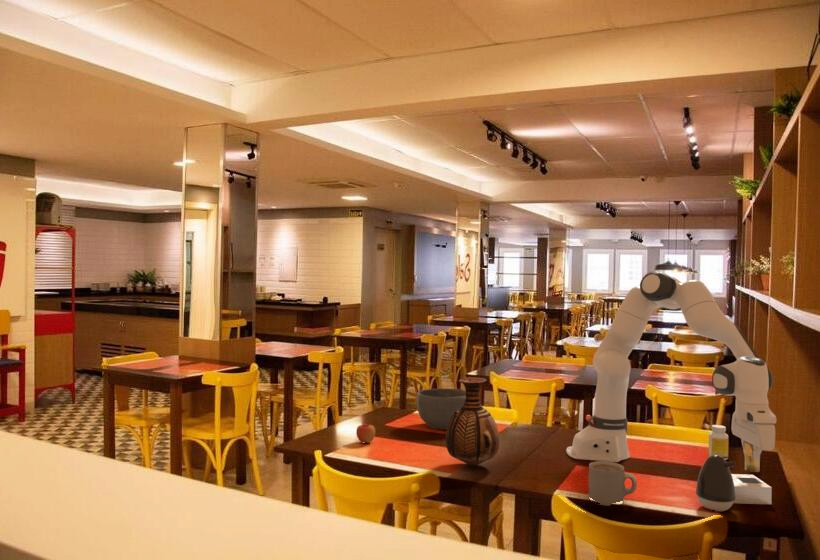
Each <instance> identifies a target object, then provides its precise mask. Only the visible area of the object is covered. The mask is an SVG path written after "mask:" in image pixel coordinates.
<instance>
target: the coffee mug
mask: <svg viewBox="0 0 820 560" xmlns="http://www.w3.org/2000/svg"><path fill="white" fill-rule="evenodd" d="M626 479H630V480H631V487H630V488H627V487H626V485H625V481H626ZM637 487H638V485H637V478H636V477H635V475H633V474H632V473H629V472H625V466H624V465H622V464H619V463H618V462H609V461H591V462H590V463H589V464H588V498H589V497H590V498H592V499H593V500H595V501H597V502H598V503H600V504H599V505H601V506H608V507H611V506H610V505H611V504H612V503H616V502H620V501H623V499H625V496H628V495H631V494H633V493H635V491H636V490H637Z"/></svg>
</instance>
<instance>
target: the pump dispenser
mask: <svg viewBox="0 0 820 560" xmlns="http://www.w3.org/2000/svg"><path fill="white" fill-rule="evenodd" d="M734 466H737V462H736V461H726V460H724V459H723V458H722V457H720V456H718V455H712V456H710V457H709V456H708V457H707V458H706V459H705V461H704V462H703V464H702V466H701V468H700V471H699V474H698V478H697V481H696V487H695V488H696V489H695V493H696V496H697V499H698V502H699V504H701V506H702V507H704V508H705V509H707V508H708V509H707V510H709V509H711V510H710V511H712V510H715V511H714V512H725V511H727V510H730V508H731V507H732V506H733V505H734V503H733V502H734V500H735V488H734V482H733V478H732V474H733V473H732V472H731V470H730V468H731V467H734Z"/></svg>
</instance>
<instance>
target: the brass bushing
mask: <svg viewBox="0 0 820 560" xmlns="http://www.w3.org/2000/svg"><path fill="white" fill-rule="evenodd" d="M753 451H754V449H753V445H752V444H750V443H748V442H745V454H744V470H745V471H747V472H752V473H759V472H760V469H761V468H760V465H761V464H760V463H761V462H760V461H761V459H760V460H754V459H752V453H753Z"/></svg>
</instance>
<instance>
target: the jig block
mask: <svg viewBox="0 0 820 560" xmlns="http://www.w3.org/2000/svg"><path fill="white" fill-rule="evenodd" d="M731 474H732V478H733V482H734V488H735V500H734V502H733V504H744V505H745V504H746V505H748V504H749V505H772V492H773V491H772V490H773V489H772V488H773V487H772V486H770V485H769V484H767V483H766V482H764V481H763V480H761V479H760V478H758V477H757V476H755V475H754V474H746V473H745V474H740V473H731Z"/></svg>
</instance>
